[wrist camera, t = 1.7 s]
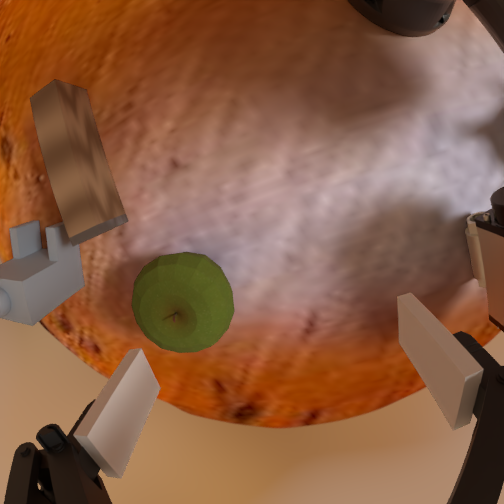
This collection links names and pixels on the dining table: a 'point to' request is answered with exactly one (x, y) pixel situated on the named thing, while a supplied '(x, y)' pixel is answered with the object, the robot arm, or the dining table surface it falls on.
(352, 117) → the dining table surface
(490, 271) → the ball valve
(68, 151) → the rail
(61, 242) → the grey two-prong block
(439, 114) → the dining table surface
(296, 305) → the dining table surface
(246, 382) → the dining table surface
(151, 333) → the apple
